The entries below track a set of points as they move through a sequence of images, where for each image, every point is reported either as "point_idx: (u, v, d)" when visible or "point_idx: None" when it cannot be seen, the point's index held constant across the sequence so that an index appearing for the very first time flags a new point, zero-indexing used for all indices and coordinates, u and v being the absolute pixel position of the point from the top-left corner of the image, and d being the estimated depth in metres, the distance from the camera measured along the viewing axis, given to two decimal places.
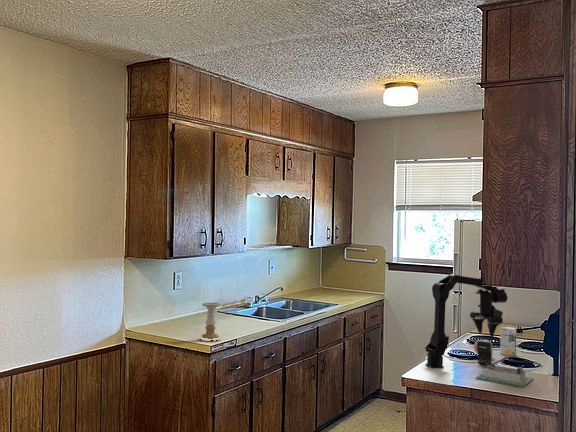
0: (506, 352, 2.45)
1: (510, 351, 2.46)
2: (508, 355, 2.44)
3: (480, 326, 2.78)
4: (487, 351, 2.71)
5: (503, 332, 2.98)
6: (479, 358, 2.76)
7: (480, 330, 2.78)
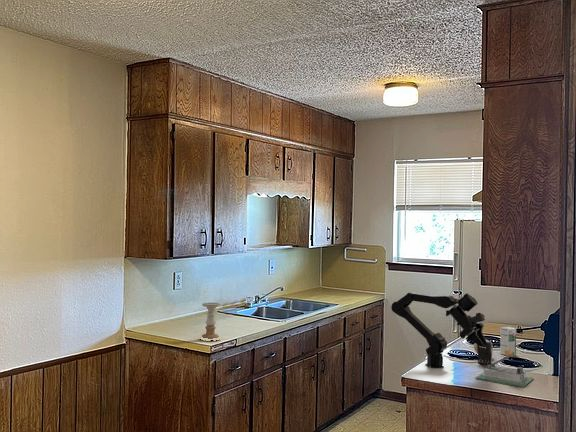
0: (506, 352, 2.45)
1: (510, 351, 2.46)
2: (508, 355, 2.44)
3: (481, 338, 2.56)
4: (487, 351, 2.71)
5: (503, 332, 2.98)
6: (479, 358, 2.76)
7: (483, 341, 2.55)
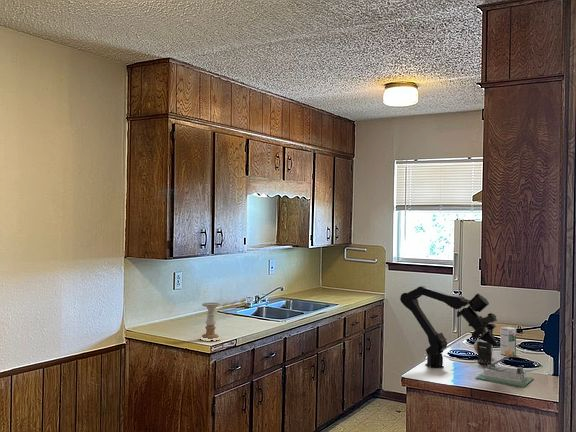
0: (506, 352, 2.45)
1: (510, 351, 2.46)
2: (508, 355, 2.44)
3: None
4: (487, 351, 2.71)
5: (503, 332, 2.98)
6: (479, 358, 2.76)
7: None
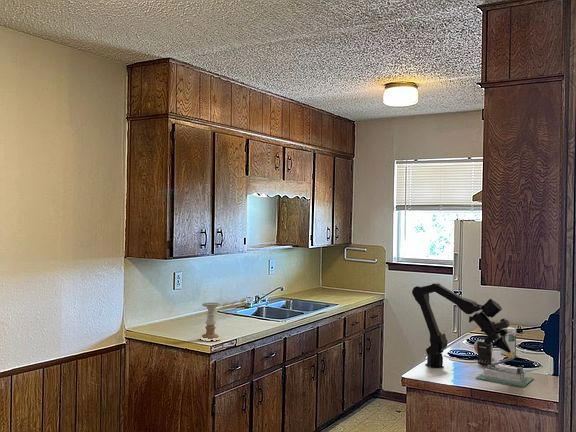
0: (508, 354, 2.44)
1: (512, 354, 2.46)
2: (510, 358, 2.44)
3: None
4: (487, 351, 2.71)
5: None
6: (479, 358, 2.76)
7: None
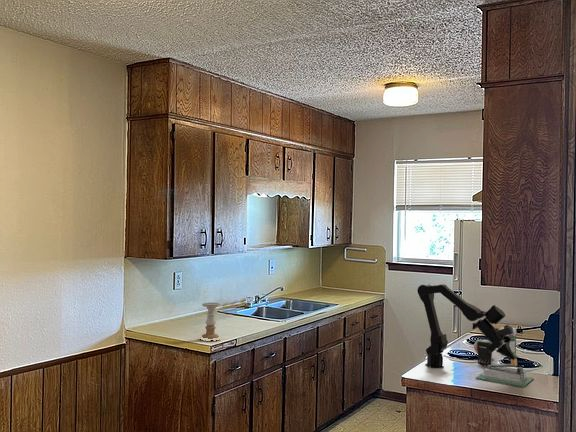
0: (512, 361, 2.43)
1: (516, 361, 2.44)
2: (513, 365, 2.43)
3: None
4: (487, 351, 2.71)
5: None
6: (479, 358, 2.76)
7: None
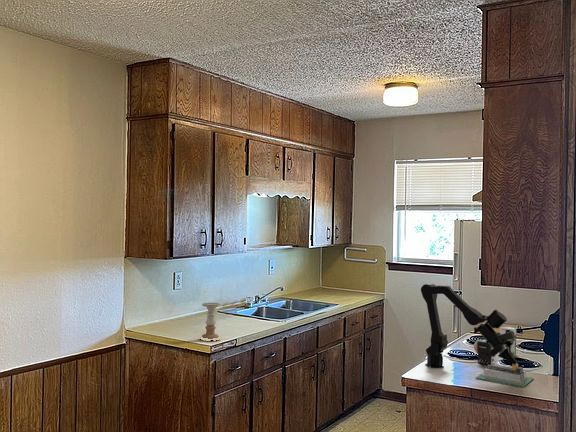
0: (513, 366, 2.42)
1: (517, 366, 2.44)
2: (513, 369, 2.42)
3: None
4: (487, 351, 2.71)
5: (503, 332, 2.98)
6: (479, 358, 2.76)
7: None
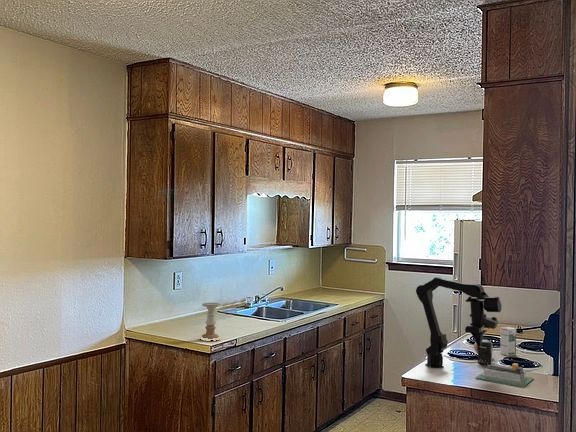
0: (513, 366, 2.42)
1: (517, 366, 2.44)
2: (513, 369, 2.42)
3: None
4: (487, 351, 2.71)
5: (503, 332, 2.98)
6: (479, 358, 2.76)
7: None
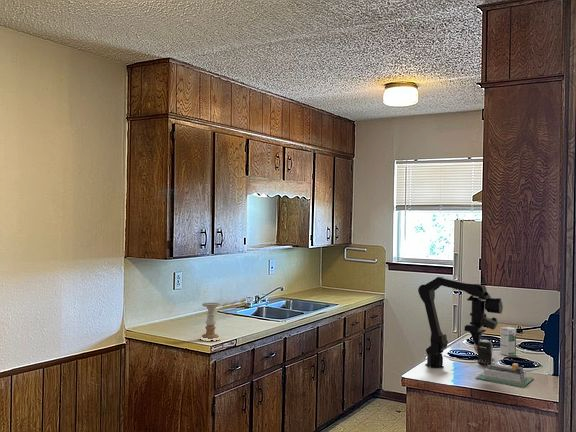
0: (513, 366, 2.42)
1: (517, 366, 2.44)
2: (513, 369, 2.42)
3: None
4: (487, 351, 2.71)
5: (503, 332, 2.98)
6: (479, 358, 2.76)
7: None
